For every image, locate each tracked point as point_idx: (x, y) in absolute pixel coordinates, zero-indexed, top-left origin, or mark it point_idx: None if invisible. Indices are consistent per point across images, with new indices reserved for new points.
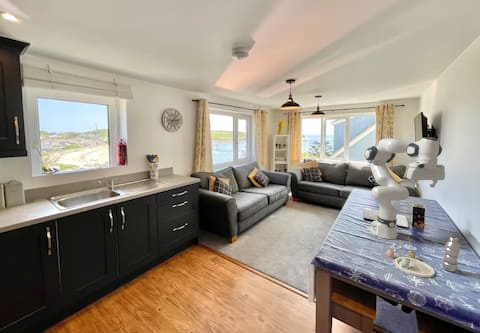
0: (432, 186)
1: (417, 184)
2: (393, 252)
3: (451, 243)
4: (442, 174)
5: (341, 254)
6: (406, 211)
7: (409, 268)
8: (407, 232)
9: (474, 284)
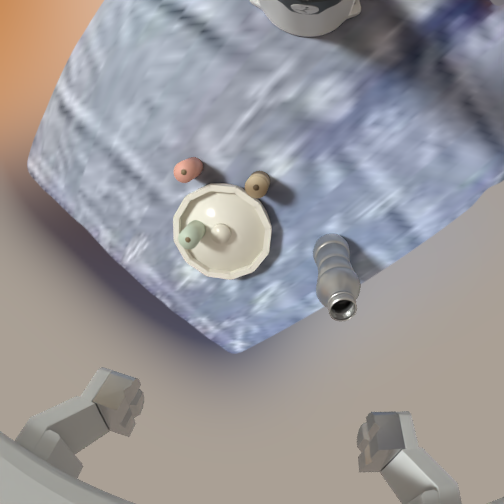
0: (359, 446)
1: (104, 429)
2: (186, 182)
3: (325, 302)
4: None
5: (69, 147)
6: None
7: (205, 235)
8: (420, 3)
9: None
